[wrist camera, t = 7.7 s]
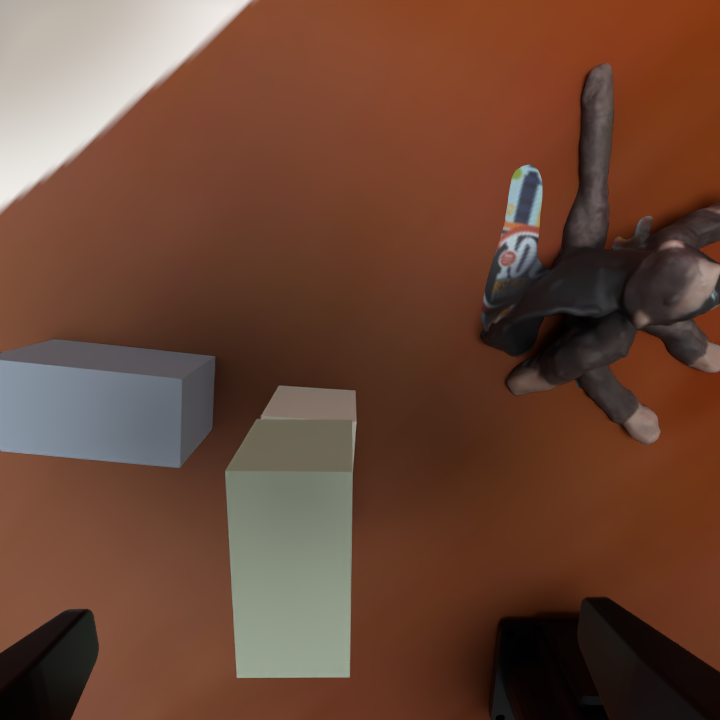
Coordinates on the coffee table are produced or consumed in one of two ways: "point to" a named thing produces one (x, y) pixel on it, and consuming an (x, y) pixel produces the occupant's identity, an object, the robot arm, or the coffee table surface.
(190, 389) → the slate brick
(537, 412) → the coffee table surface
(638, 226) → the stuffed animal
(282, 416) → the cream brick
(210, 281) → the coffee table surface
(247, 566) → the sage brick
